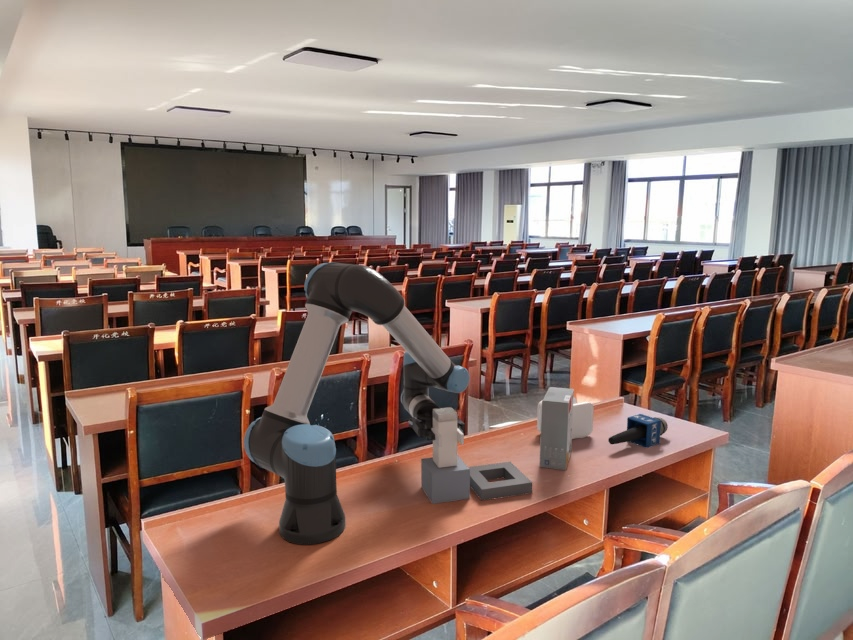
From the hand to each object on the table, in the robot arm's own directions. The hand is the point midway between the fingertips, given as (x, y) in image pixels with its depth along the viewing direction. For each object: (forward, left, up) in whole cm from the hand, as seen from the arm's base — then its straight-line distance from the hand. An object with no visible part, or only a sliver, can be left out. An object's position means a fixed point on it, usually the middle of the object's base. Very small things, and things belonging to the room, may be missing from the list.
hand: (451, 440), depth 152 cm
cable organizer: (+50, +33, -17) cm, 62 cm away
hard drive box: (+38, +16, -17) cm, 44 cm away
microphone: (+68, +19, -17) cm, 73 cm away
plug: (0, +5, -8) cm, 10 cm away
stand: (0, +5, -16) cm, 17 cm away
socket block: (+15, +5, -16) cm, 22 cm away
